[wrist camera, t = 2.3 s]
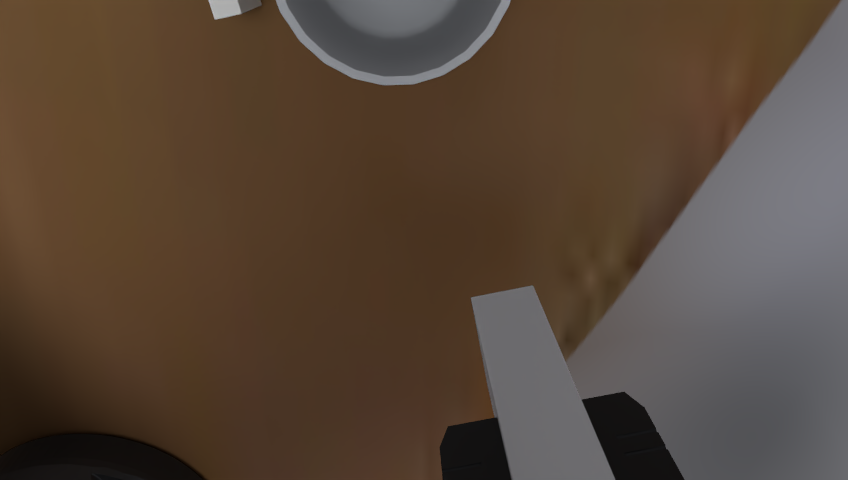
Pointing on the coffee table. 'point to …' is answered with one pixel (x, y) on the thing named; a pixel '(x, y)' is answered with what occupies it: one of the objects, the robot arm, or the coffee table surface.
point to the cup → (393, 35)
